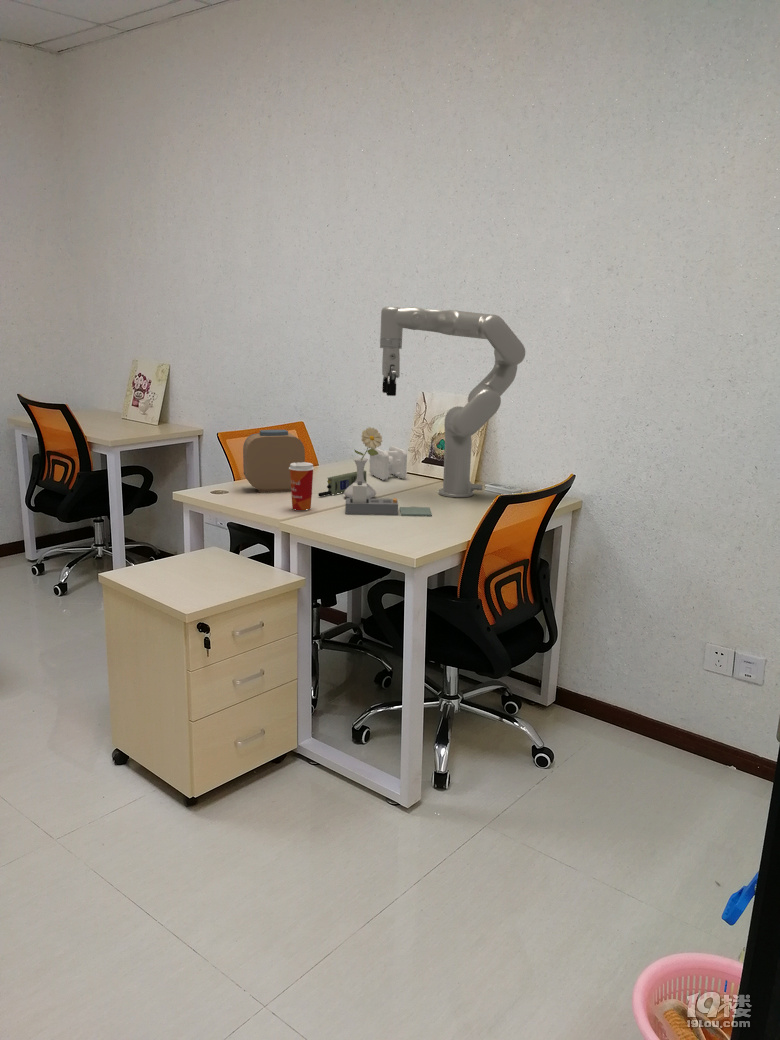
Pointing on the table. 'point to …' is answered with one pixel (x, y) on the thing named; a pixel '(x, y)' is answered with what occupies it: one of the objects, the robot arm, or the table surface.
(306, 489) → the coffee cup
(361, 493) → the block
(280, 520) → the table surface
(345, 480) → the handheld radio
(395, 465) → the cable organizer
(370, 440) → the flower in vase
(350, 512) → the power strip
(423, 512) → the mat
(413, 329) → the robot arm
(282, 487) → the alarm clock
